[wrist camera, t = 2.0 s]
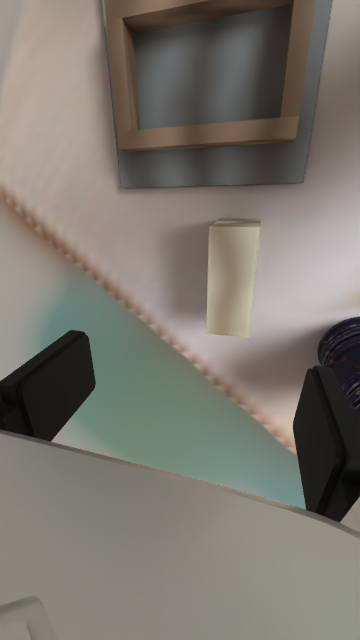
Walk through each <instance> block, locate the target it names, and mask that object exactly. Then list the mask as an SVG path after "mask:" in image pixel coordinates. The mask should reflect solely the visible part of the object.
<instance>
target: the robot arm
mask: <svg viewBox="0 0 360 640" xmlns="http://www.w3.org/2000/svg"><path fill="white" fill-rule="evenodd" d="M95 384H96V383H95V376H94V369H93V363H92V356H91V350H90V343H89V338H88V336H87V335H86V334H85V332H82V331H75V330H70V331H69V332H67V333H66V334H65V335H63V336H62V337H60V338H59V339H58V340H56V341H55V342H54V343H52V344H51V345H49V346H48V347H47V348H45V349H44V350H43V351H41V352H40V353H38V354H37V355H36V356H34V357H33V358H32V359H30V360H29V361H27V362H26V363H25V364H23V365H22V366H21V367H19V368H18V369H17V370H15V371H14V372H12V373H11V374H10V375H8V376H7V377H6V378H4V379H3V380H1V381H0V640H360V414H359V412H358V411H357V409H356V408H354V407H350V406H349V404H348V402H347V400H346V397H345V395H344V393H343V391H342V389H341V386H340V384H339V382H338V380H337V378H336V375H335V373H334V371H333V369H332V368H329V367H322V366H314V367H313V369H308V370H307V373H306V377H305V381H304V384H303V388H302V392H301V395H300V399H299V403H298V406H297V410H296V413H295V417H294V421H293V432H294V438H295V444H296V450H297V456H298V462H299V468H300V474H301V480H302V486H303V492H304V498H305V504H306V510H305V509H302V508H299V507H296V506H292V505H289V504H286V503H283V502H279V501H275V500H272V499H268V498H265V497H261V496H257V495H254V494H250V493H247V492H243V491H239V490H236V489H232V488H229V487H225V486H221V485H217V484H213V483H210V482H206V481H202V480H198V479H194V478H191V477H187V476H183V475H179V474H175V473H172V472H168V471H164V470H159V469H156V468H152V467H148V466H145V465H140V464H136V463H133V462H129V461H125V460H121V459H117V458H113V457H109V456H105V455H102V454H98V453H94V452H90V451H86V450H82V449H78V448H74V447H70V446H66V445H62V444H58V443H54V442H51V441H52V439H53V438H54V437H55V436H56V435H57V433H58V432H59V431H60V430H61V429H62V427H63V426H64V425H65V424H66V423H67V421H68V420H69V419H70V418H71V417H72V415H73V414H74V413H75V412H76V411H77V409H78V408H79V407H80V406H81V405H82V403H83V402H84V401H85V400H86V398H87V397H88V396H89V395H90V394H91V392H92V391H93V390H94V388H95Z"/></svg>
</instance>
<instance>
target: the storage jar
mask: <svg viewBox="0 0 360 640" xmlns="http://www.w3.org/2000/svg"><path fill="white" fill-rule="evenodd" d="M318 359H319V362H320V364H321V366H322V367H329V368H332V369H333V371H334V373H335V375H336V378H337V380H338V382H339V384H340V386H341V389H342V391H343V393H344V395H345V397H346V400H347V402H348V404H349V406H350V407H354V408H356V409H357V411H358V412H359V414H360V317H355V318H350V319H347V320H344V321H342V322H340V323H338V324H336V325H335V326H333V327H332V328H331V329H329V330H328V331H327V332H326V333H325V335H324V336H323V337H322V339H321V341H320V343H319V346H318Z"/></svg>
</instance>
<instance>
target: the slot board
mask: <svg viewBox="0 0 360 640" xmlns="http://www.w3.org/2000/svg"><path fill="white" fill-rule="evenodd" d="M101 1H102V10H103V20H104V30H105V39H106V49H107V58H108V68H109V78H110V87H111V97H112V106H113V116H114V125H115V135H116V145H117V154H118V164H119V173H120V183H121V188H150V187H184V186H218V185H252V184H286V183H303V180H304V174H305V168H306V162H307V155H308V149H309V143H310V137H311V131H312V124H313V118H314V112H315V106H316V100H317V94H318V87H319V81H320V75H321V69H322V63H323V57H324V50H325V44H326V38H327V32H328V26H329V19H330V13H331V7H332V1H333V0H101Z"/></svg>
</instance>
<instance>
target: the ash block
mask: <svg viewBox="0 0 360 640" xmlns="http://www.w3.org/2000/svg"><path fill="white" fill-rule="evenodd" d="M260 228H261V225H260V219H219V220H218V221H216V222H215V223H214V224H212V225H211V226H209V247H208V284H207V322H206V333H208V334H217V335H226V336H236V337H245V338H249V331H250V322H251V312H252V303H253V294H254V284H255V275H256V266H257V256H258V247H259V238H260Z"/></svg>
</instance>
